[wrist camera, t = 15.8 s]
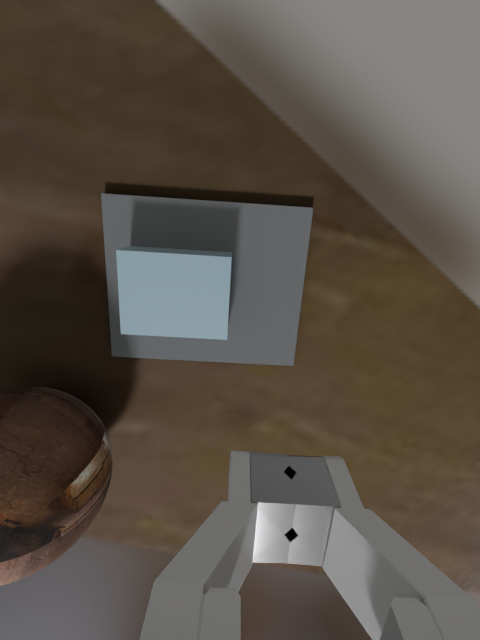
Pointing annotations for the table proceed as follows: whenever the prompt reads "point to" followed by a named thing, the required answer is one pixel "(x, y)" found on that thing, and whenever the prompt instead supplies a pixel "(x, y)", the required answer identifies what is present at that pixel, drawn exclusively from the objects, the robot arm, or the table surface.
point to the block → (174, 292)
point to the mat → (246, 272)
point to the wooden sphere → (47, 476)
